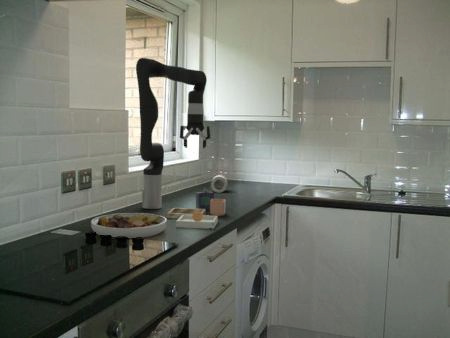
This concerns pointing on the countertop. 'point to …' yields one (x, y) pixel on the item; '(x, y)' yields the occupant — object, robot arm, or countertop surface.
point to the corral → (180, 211)
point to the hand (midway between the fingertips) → (195, 147)
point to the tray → (197, 222)
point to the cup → (217, 207)
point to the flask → (204, 199)
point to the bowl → (129, 225)
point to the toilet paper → (219, 189)
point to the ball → (197, 216)
